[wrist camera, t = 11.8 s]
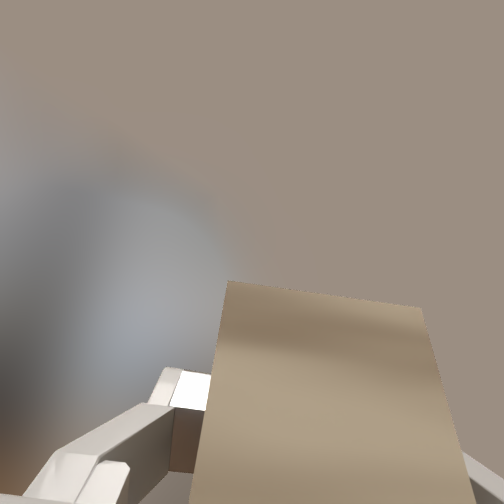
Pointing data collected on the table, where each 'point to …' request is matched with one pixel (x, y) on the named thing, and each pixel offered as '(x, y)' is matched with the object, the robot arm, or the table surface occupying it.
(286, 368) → the pine blank
